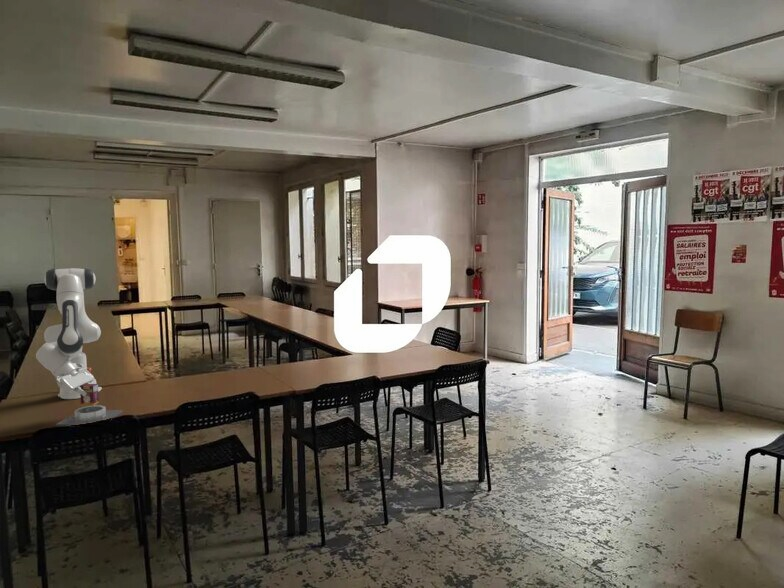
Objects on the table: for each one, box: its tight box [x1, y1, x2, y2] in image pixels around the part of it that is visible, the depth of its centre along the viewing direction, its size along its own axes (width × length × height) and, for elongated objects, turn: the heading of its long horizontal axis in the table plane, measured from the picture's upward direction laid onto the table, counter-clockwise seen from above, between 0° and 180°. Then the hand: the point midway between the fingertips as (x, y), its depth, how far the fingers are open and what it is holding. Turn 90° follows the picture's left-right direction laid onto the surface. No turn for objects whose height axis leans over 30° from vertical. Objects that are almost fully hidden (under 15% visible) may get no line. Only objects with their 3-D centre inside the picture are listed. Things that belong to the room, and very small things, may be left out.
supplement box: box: [80, 383, 100, 407], centre depth 245 cm, size 6×5×9 cm
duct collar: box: [55, 404, 124, 427], centre depth 246 cm, size 20×20×4 cm
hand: (89, 393), depth 245 cm, fingers closed on supplement box, 5 cm apart
